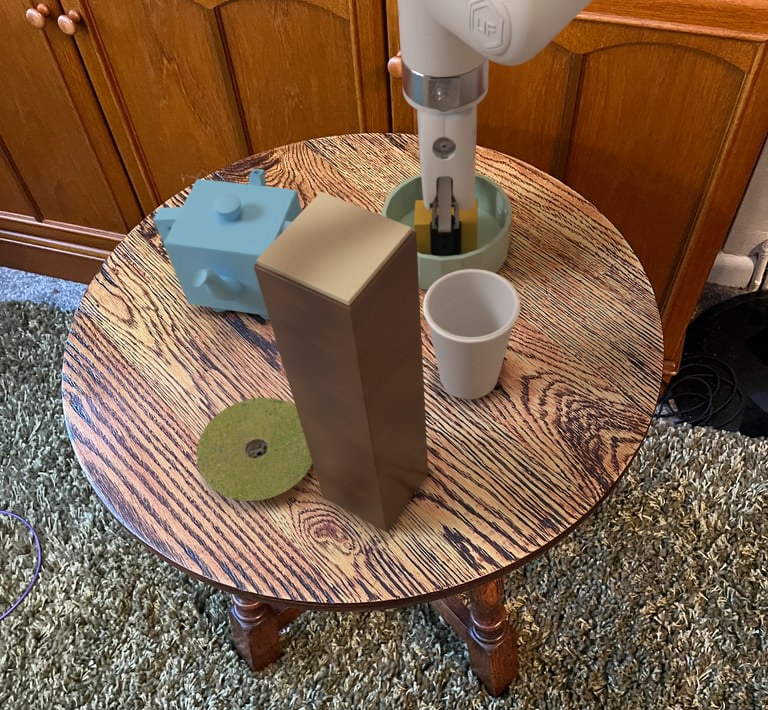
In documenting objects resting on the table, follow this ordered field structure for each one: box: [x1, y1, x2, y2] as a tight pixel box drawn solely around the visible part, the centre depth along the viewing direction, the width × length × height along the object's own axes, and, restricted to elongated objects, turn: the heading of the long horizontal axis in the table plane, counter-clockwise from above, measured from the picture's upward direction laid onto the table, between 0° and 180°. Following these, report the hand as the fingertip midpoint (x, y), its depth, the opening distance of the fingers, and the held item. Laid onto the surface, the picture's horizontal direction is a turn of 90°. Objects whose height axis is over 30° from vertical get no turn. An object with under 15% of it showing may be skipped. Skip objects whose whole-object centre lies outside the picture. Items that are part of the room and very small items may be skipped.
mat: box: [195, 397, 313, 502], centre depth 72 cm, size 11×11×2 cm
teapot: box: [152, 168, 303, 320], centre depth 78 cm, size 16×18×11 cm
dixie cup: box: [422, 269, 521, 400], centre depth 71 cm, size 8×8×10 cm
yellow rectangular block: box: [414, 199, 478, 254], centre depth 81 cm, size 6×4×4 cm, turn 87°
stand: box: [254, 191, 429, 533], centre depth 58 cm, size 7×7×28 cm
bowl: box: [380, 172, 513, 291], centre depth 82 cm, size 13×13×4 cm
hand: (446, 236), depth 82 cm, fingers closed on yellow rectangular block, 3 cm apart
